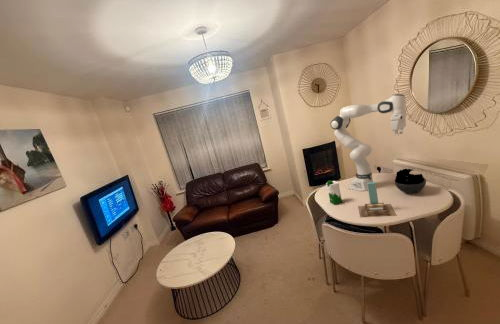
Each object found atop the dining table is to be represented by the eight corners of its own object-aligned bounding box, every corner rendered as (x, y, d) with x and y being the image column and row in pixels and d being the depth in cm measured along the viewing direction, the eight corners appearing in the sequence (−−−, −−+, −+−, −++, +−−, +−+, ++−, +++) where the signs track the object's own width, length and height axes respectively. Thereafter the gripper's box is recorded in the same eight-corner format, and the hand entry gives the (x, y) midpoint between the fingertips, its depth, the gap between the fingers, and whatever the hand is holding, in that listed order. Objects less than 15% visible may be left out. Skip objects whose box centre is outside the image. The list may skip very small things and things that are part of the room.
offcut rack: (391, 205, 161) (390, 200, 160) (397, 217, 145) (396, 211, 144) (358, 207, 170) (357, 202, 169) (360, 219, 154) (359, 213, 153)
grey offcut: (383, 212, 152) (382, 207, 152) (383, 214, 150) (383, 208, 150) (370, 213, 155) (369, 208, 155) (370, 214, 154) (369, 209, 153)
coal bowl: (407, 185, 185) (404, 164, 182) (433, 190, 166) (431, 167, 163) (390, 193, 179) (387, 171, 176) (415, 199, 160) (412, 175, 157)
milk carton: (328, 202, 191) (324, 180, 188) (338, 199, 192) (334, 177, 189) (334, 205, 183) (329, 183, 179) (343, 202, 184) (339, 180, 180)
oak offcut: (383, 210, 155) (382, 203, 154) (384, 211, 153) (383, 204, 153) (368, 211, 159) (367, 204, 158) (368, 212, 157) (367, 205, 157)
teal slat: (378, 207, 160) (374, 181, 157) (379, 209, 158) (375, 183, 154) (371, 208, 162) (367, 182, 159) (371, 209, 160) (367, 183, 156)
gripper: (398, 115, 173) (398, 132, 176) (389, 118, 160) (389, 137, 163) (408, 114, 168) (408, 132, 171) (399, 117, 155) (399, 137, 158)
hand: (399, 134), depth 167 cm, fingers open, 8 cm apart
